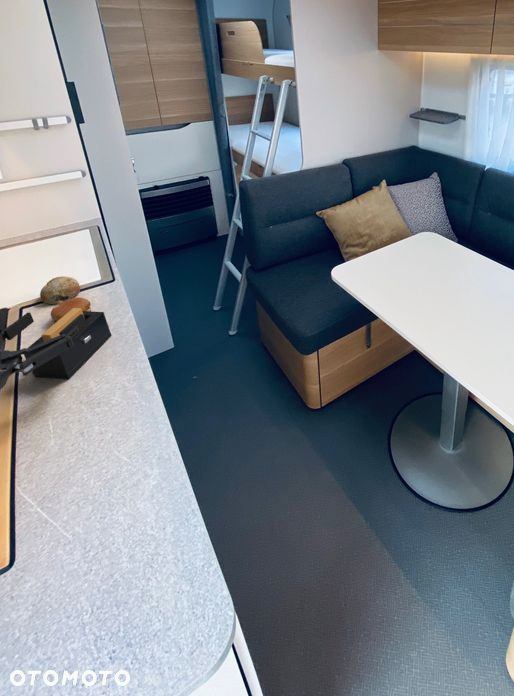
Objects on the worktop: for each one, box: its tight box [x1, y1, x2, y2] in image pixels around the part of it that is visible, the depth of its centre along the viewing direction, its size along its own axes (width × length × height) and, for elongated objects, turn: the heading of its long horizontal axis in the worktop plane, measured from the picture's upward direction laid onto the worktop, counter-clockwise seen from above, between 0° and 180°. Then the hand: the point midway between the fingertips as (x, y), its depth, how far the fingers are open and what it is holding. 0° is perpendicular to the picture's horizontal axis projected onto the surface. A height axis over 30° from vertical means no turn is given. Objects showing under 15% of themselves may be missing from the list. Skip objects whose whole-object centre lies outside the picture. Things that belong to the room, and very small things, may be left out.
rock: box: [39, 276, 81, 305], centre depth 128 cm, size 10×10×8 cm
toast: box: [41, 308, 84, 342], centre depth 103 cm, size 2×10×10 cm, turn 176°
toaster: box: [26, 310, 112, 380], centre depth 103 cm, size 10×15×8 cm, turn 175°
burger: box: [50, 296, 92, 325], centre depth 118 cm, size 10×9×5 cm
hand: (57, 317), depth 100 cm, fingers open, 13 cm apart
